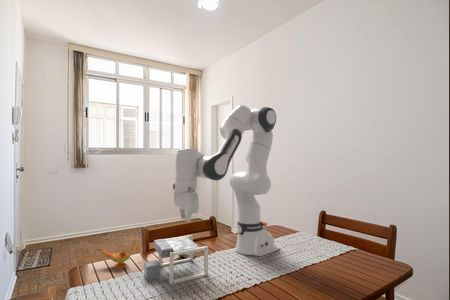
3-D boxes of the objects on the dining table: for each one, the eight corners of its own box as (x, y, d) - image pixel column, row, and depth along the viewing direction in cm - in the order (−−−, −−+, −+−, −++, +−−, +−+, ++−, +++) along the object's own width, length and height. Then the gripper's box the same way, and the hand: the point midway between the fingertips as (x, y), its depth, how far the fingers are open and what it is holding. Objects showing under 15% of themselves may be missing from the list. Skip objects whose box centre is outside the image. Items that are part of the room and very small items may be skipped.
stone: (157, 272, 102) (157, 259, 102) (160, 277, 97) (160, 264, 98) (144, 275, 99) (144, 262, 100) (146, 280, 95) (146, 267, 95)
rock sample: (189, 254, 111) (183, 237, 116) (176, 264, 111) (170, 247, 117) (202, 257, 119) (195, 241, 124) (190, 267, 119) (183, 250, 125)
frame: (191, 259, 115) (191, 234, 115) (208, 275, 99) (208, 246, 99) (158, 266, 107) (158, 240, 108) (170, 284, 92) (170, 253, 92)
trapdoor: (186, 241, 112) (186, 234, 112) (199, 251, 99) (199, 244, 99) (153, 246, 105) (153, 239, 105) (162, 259, 92) (162, 250, 92)
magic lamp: (100, 262, 112) (100, 237, 112) (140, 262, 111) (140, 237, 112) (91, 268, 105) (92, 242, 105) (134, 269, 104) (134, 242, 105)
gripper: (203, 188, 97) (202, 224, 97) (185, 184, 115) (184, 214, 115) (187, 189, 94) (186, 226, 94) (171, 184, 112) (171, 215, 112)
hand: (185, 220), depth 104 cm, fingers open, 5 cm apart
